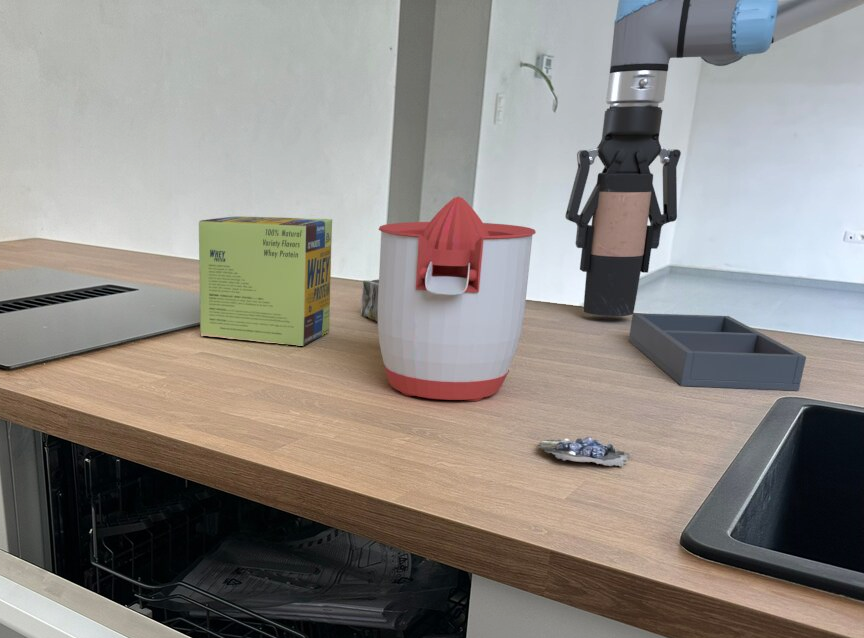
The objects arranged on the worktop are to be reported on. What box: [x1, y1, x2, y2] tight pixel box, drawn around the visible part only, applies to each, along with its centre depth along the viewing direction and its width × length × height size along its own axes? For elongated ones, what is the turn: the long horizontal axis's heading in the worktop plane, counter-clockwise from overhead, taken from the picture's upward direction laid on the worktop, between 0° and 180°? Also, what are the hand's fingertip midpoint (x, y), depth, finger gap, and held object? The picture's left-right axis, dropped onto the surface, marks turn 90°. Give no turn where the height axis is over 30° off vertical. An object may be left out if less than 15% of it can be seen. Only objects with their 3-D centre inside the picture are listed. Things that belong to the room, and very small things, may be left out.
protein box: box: [198, 215, 333, 347], centre depth 116 cm, size 10×15×16 cm
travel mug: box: [583, 172, 654, 317], centre depth 127 cm, size 8×8×20 cm
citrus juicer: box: [377, 196, 537, 402], centre depth 89 cm, size 16×17×20 cm
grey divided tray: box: [628, 312, 807, 392], centre depth 104 cm, size 12×23×4 cm, turn 171°
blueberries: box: [536, 436, 631, 468], centre depth 73 cm, size 7×8×2 cm
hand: (613, 270), depth 128 cm, fingers closed on travel mug, 8 cm apart
